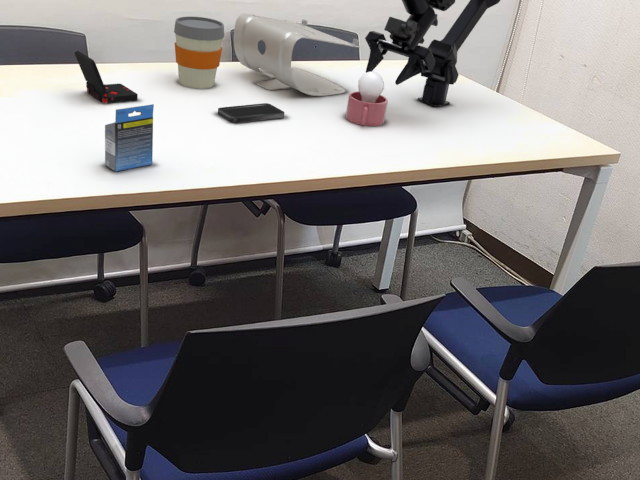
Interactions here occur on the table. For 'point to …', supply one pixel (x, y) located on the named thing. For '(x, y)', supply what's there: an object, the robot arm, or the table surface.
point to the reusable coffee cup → (198, 50)
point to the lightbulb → (370, 86)
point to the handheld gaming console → (96, 86)
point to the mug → (366, 110)
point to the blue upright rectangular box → (129, 139)
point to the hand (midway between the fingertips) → (381, 78)
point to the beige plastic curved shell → (281, 53)
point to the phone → (250, 112)
